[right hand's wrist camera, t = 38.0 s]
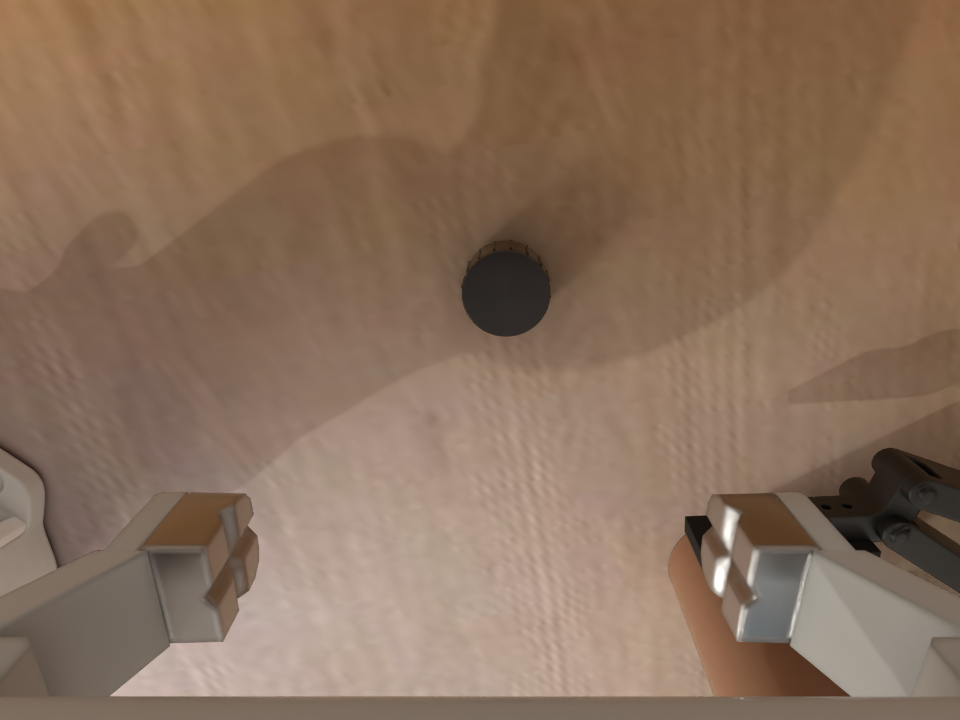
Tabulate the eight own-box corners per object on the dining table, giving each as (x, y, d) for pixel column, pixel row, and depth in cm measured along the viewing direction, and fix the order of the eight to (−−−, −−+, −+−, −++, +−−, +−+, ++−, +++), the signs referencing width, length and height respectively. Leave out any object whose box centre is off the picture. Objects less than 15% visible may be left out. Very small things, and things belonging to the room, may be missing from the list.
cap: (559, 254, 26) (564, 266, 24) (531, 330, 28) (533, 348, 25) (479, 228, 26) (476, 237, 24) (455, 306, 27) (450, 322, 25)
